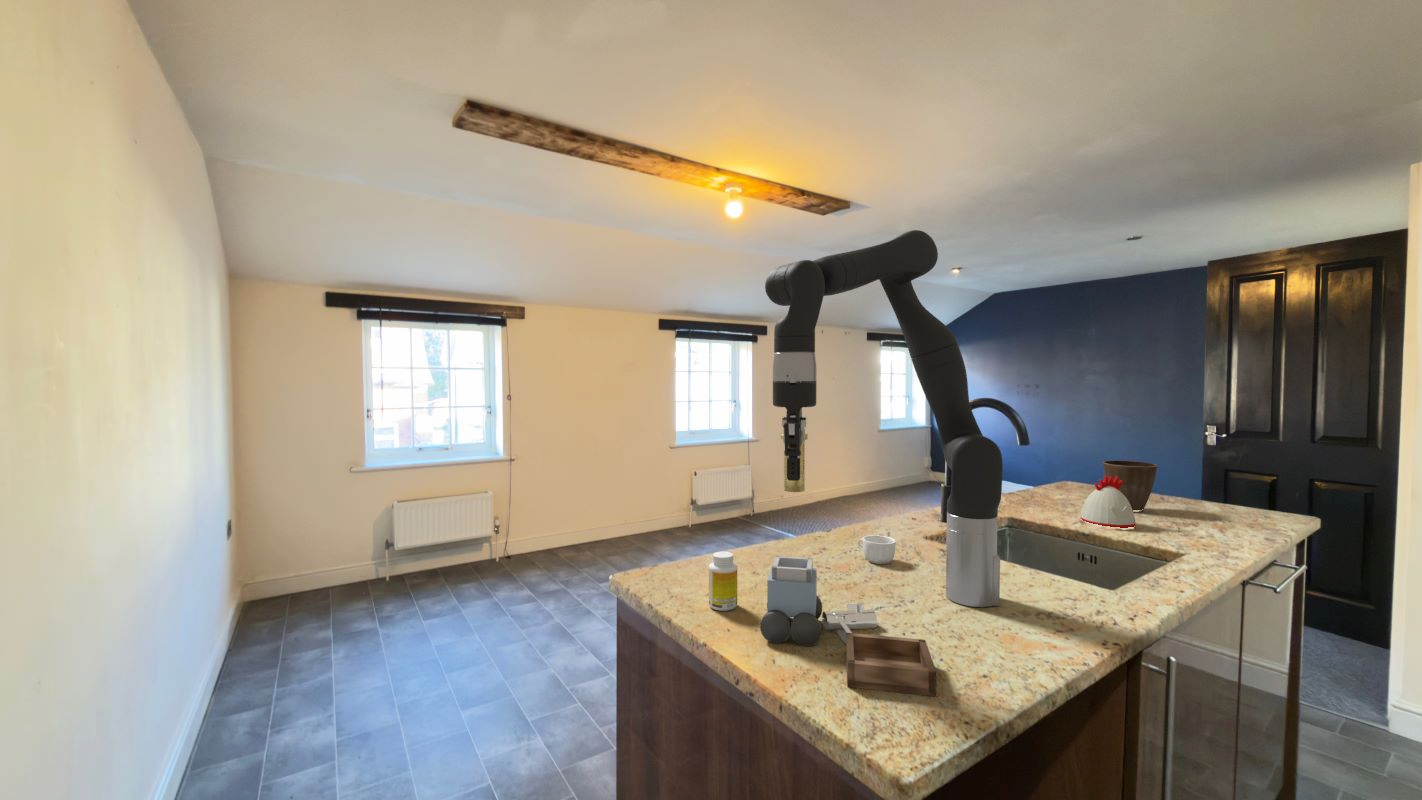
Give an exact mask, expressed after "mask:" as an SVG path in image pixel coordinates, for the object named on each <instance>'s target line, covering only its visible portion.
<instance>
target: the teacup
mask: <svg viewBox="0 0 1422 800" xmlns="http://www.w3.org/2000/svg"><path fill="white" fill-rule="evenodd" d="M861 542H862V545H861ZM857 545H858V547H859V548H860V549H861V551H862V552H863V555H864V557H865V559H866V560H867V561H869V562H870V563H873V564H877V565H886V564H889V563H891V562H892V561H893V559H894V557H895V554H896V547H897V540H896V539H894V538H893V537H890V536H885V535H878V534H872V535H871V534H870V535H865V536H863V537H862V538H859V539H858V540H857Z"/></svg>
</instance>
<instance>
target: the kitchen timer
mask: <svg viewBox="0 0 1422 800" xmlns="http://www.w3.org/2000/svg"><path fill="white" fill-rule="evenodd" d="M1098 483H1099V485H1098ZM1098 483H1096V482H1094V487H1095V489H1094V490H1093V491H1092V492H1091V493H1090V494H1089V495H1088V496H1087V497H1086V499H1085V501H1084V503H1083V505H1082V508H1081V511H1080V519H1082V520H1083V521H1086V522H1089V523H1093V524H1098V525H1102V526H1110V527H1120V528H1128V527H1134V526H1136V525H1137V524H1136V518H1135V514H1134V513H1135V512H1133V510H1132V508H1131V505H1130V503H1129V501H1128V500H1127V498H1126V497H1125V496H1124V495H1123V494H1122V493H1121V492H1120V491H1119V489H1120V487H1121V485H1122V483H1123V481H1122V480H1120V482H1119V483H1118V477H1117V476H1116V477H1115V479H1114V482H1113V478H1112V476H1109V481H1108V478H1107V476H1105V475H1104V476H1103V480H1102V479H1098ZM1080 519H1079V520H1080ZM1136 527H1137V526H1136Z"/></svg>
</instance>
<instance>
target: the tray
mask: <svg viewBox="0 0 1422 800" xmlns="http://www.w3.org/2000/svg"><path fill="white" fill-rule="evenodd" d="M845 660H846V661H845V663H846V683H847V685H846V686H847V688H855V689H861V690H863V689H865V690H872V691H881V692H888V693H889V692H891V693H899V694H908V695H917V694H921V695H920V696H926V695H930V696H929V697H935V696H936V697H937V669H936V667H935V664H934V661H933V658H932V654H931V652H930V650H929V647H928V643H927V641H926V639H921V638H920V639H919V638H908V637H899V636H898V637H896V636H888V635H887V636H886V635H878V634H877V635H875V634H865V633H853V632H852V633H846V644H845Z"/></svg>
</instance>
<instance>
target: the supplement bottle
mask: <svg viewBox="0 0 1422 800" xmlns="http://www.w3.org/2000/svg"><path fill="white" fill-rule="evenodd" d="M734 559H735V558H734V553H732V552H730V551H717V552H714V553H713V555H712V562H711V563H710V564H709V565H708V605H709V606H710V608H711V609H712V610H716V611H720V612H726V611H727V612H728V611H731V610H734V609H736V607H737V606H738V565H737V563H735V562H734Z"/></svg>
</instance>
